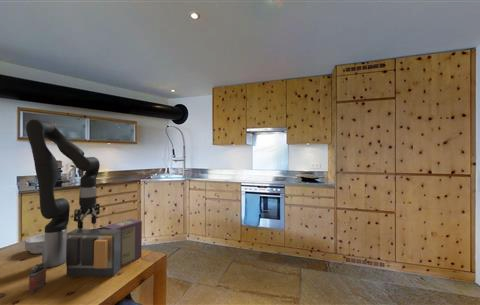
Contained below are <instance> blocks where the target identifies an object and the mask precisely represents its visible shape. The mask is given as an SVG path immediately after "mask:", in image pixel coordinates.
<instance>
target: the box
mask: <svg viewBox="0 0 480 305" xmlns="http://www.w3.org/2000/svg"><path fill="white" fill-rule="evenodd" d="M142 224H143V221H142V220H138V219H133V218H129V219H125V220H122V221H118V222H114V223H111V224H107V225H104V226H102V229H121V244H120V268H121V267H123V266H125V265H128V264H130V263H132V262H133V261H136V260H138V259H140V258H142V250H143V249H142V241H143V240H142V239H143V238H142V234H143V227H142V226H143V225H142Z"/></svg>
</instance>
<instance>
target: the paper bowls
mask: <svg viewBox="0 0 480 305" xmlns="http://www.w3.org/2000/svg"><path fill="white" fill-rule="evenodd" d="M44 236H45V233H43V234H38V235H34V236H31V237H28V238H27V239H25V241H24V249H25V251H28V252H30V253H31V254H35V255H36V254H37V255H38V254H42V247H43V246H44Z"/></svg>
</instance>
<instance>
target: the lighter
mask: <svg viewBox="0 0 480 305" xmlns="http://www.w3.org/2000/svg"><path fill="white" fill-rule="evenodd" d="M43 265H44V263H42V262H40V263H36V264H35V266H33V267H32V268H31V269H30V273H28V277H27V278H28V291H27V293H28V295H32V294H35V293H37V292H39V291H40V290H42V289H43V288H44V287H45V286H46V285H47V269H48V267H46V266H43Z"/></svg>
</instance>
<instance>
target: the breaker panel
mask: <svg viewBox="0 0 480 305" xmlns="http://www.w3.org/2000/svg"><path fill="white" fill-rule="evenodd" d="M96 240H108V263H107V267H106V268H94V241H96ZM120 244H121V229H100V228H97V229H96V228H94V229H93V228H91V229H90V228H83V229H78V228H75V229H73V230H71V231H67V239H66V262H65V266H66V275H65V276H66V277H115V276H116V275H117V274H118V273H119V272H120V271H121V267H120Z"/></svg>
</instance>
